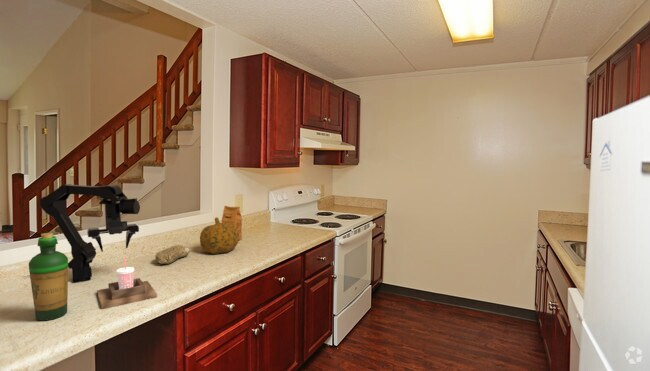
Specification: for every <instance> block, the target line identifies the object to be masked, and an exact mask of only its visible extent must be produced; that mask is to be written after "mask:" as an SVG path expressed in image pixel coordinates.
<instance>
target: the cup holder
mask: <svg viewBox="0 0 650 371" xmlns="http://www.w3.org/2000/svg"><path fill="white" fill-rule="evenodd" d="M141 279H142V278H140V277H136V278H133V287H130V288H125V289H120V290H119V283H118V281H115V282H109V283H108V284H107V286H108V287H107V288H102V289H97V290H96V295H97V298H98V300H99V303H100V307H101V310H104V309H109V308H113V307H119V306H124V305H127V304H131V303H135V302H141V301H142V302H143V301H146V299H147V300H150V298H151V299H156V298H158V293H157V292H156V290H155V289H154V287H152V285H151V283H150V282H149V281H148V280H145V281H143V280H141ZM155 297H156V298H155Z"/></svg>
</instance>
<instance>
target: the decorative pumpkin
mask: <svg viewBox="0 0 650 371" xmlns="http://www.w3.org/2000/svg"><path fill="white" fill-rule="evenodd" d="M214 222H215V224H211V225H210V224H209V225H207V226H204V228H203V229H202V230H201V232H200V236H199V243H200V246H201V249H202V250H203V251H204V252H205V253H208V254H213V255H218V254H222V253H223V254H224V253H226V254H227V253H229V252H231V251H233V250H234V249H235V248H236V246H237V245H238V243H239V241H240V239H239V233H238V231H237V229H236V228H235V227H234V226H233V225H231V224H228V223H222V222H220V219H219V217H218V216H217V217H214Z"/></svg>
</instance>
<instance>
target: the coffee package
mask: <svg viewBox="0 0 650 371" xmlns="http://www.w3.org/2000/svg"><path fill="white" fill-rule="evenodd" d="M240 209H241V207H240V206H227V205H224V208H223V212H222V215H221V216H222V217H221V223H228V224H231V225H233V226H234V227H235V228H236V229H237V231H238V233H239V240H242V239H243V233H242V232H243V231H242V230H243V228H242V221H243V217H242V213H241V211H240Z"/></svg>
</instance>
